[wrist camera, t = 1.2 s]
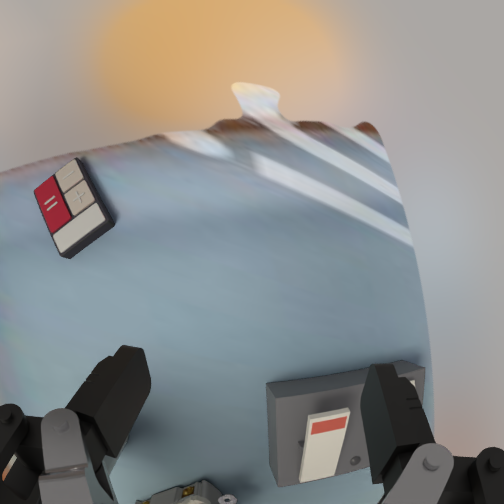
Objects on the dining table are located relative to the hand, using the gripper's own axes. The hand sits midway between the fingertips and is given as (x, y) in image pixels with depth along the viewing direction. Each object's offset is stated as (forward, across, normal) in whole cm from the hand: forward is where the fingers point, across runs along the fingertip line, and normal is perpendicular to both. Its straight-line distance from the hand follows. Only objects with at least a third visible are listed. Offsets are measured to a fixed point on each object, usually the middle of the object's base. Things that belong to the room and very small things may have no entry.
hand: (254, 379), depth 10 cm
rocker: (+20, +9, -35) cm, 41 cm away
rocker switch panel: (+32, +14, -40) cm, 53 cm away
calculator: (+38, -37, -3) cm, 53 cm away
